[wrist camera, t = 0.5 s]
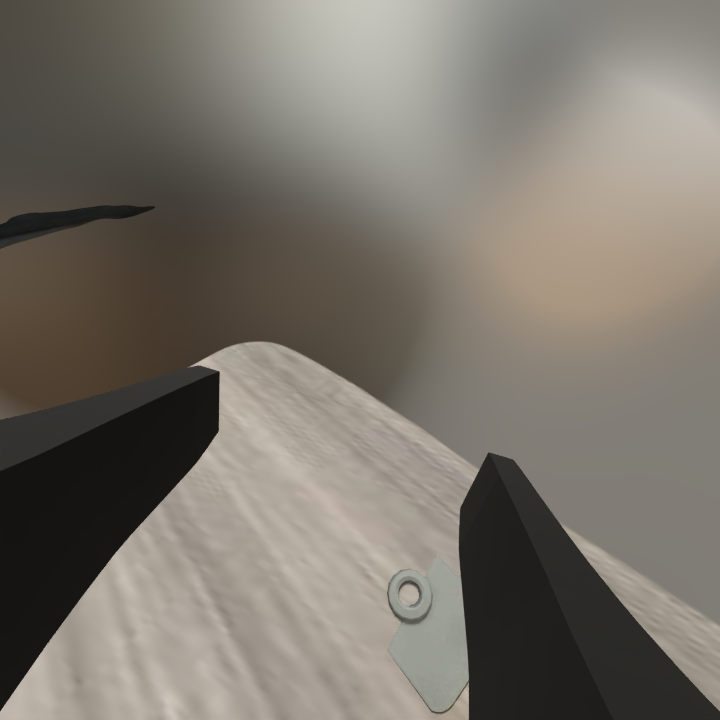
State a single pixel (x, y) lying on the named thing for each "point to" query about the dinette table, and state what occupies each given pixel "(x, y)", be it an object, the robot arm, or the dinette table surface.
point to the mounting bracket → (431, 634)
